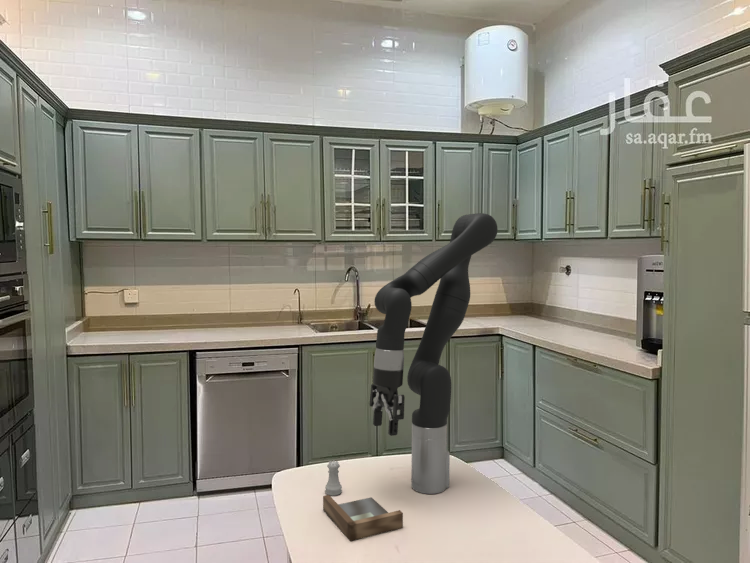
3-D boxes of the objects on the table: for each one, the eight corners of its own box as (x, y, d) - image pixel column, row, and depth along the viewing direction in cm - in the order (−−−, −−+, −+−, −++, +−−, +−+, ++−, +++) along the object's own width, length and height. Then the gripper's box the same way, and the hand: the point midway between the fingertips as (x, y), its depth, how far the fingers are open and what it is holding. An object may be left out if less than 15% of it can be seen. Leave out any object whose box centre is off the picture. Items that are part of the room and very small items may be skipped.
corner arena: (371, 499, 137) (371, 485, 137) (402, 528, 123) (402, 512, 123) (323, 510, 131) (323, 495, 131) (350, 541, 117) (350, 525, 117)
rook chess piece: (339, 497, 139) (339, 466, 138) (322, 495, 139) (322, 464, 139) (344, 489, 143) (344, 459, 143) (327, 488, 144) (327, 458, 143)
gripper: (415, 371, 133) (411, 437, 133) (388, 361, 146) (385, 421, 146) (388, 372, 129) (384, 439, 130) (363, 361, 142) (359, 423, 143)
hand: (384, 430), depth 138 cm, fingers open, 8 cm apart
